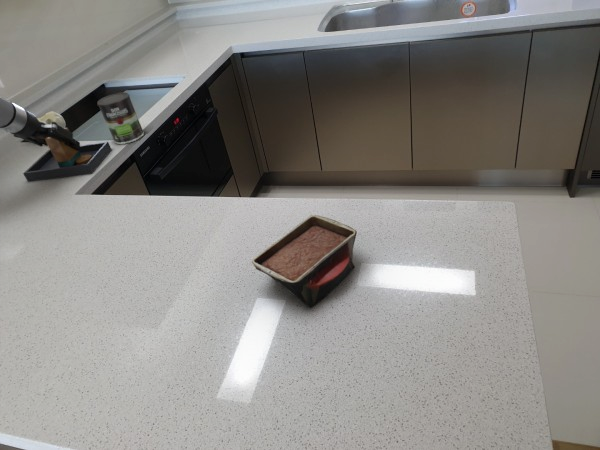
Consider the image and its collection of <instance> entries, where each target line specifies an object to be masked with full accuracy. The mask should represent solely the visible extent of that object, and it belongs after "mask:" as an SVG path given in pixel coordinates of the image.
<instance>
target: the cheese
mask: <svg viewBox="0 0 600 450" xmlns="http://www.w3.org/2000/svg"><path fill="white" fill-rule="evenodd" d="M36 118H37V117H36ZM37 119H38V120H39V121H40V122H44V123H45V124H50V125H51V124H52V122H56V123H57V124H58V125H59V126H61V127H63V128H66V126H67V125H66V121H65V119H64V117H63V116H62V115H61V114H60V113H58V112H55V111H51V110H50V111H48V112H46V113H45V114H44V115H43V116H41V117H38V118H37Z"/></svg>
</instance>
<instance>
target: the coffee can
mask: <svg viewBox="0 0 600 450" xmlns="http://www.w3.org/2000/svg"><path fill="white" fill-rule="evenodd" d="M96 103H97V106H98V107H99V110H100V112H101V114H102V116H103V119H104V121H105V123H106V126H107V128H108V130H109V132H110V135H111V137H112V139H113V142H114V143H115V144H117V145H127V144H130V143H134V142H136V141H138V140H140V139H142V137H144V134H145V132H144V130H143V127H142V125H141V122H140V119H139V117H138V115H137V111H136V110H135V108H134V104H133V102H132V100H131V97H130V94H129V93H128V92H115V93H112V94H108V95H106V96H103V97H102V98H100V99H99V100H98V101H97V102H96Z"/></svg>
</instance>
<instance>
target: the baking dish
mask: <svg viewBox="0 0 600 450" xmlns="http://www.w3.org/2000/svg"><path fill="white" fill-rule="evenodd" d="M356 237H357V230H356V229H355V228H353V227H351V226H349V225H348V224H344V223H341V222H339V220H334V219H331V218H329V217H326V216H323V215H317V214H314V215H313V214H311V215H309V216H308V217H307V218H305V219H304V220H303V221H302V222H300V223H298V224H297V225H295V227H293V228H292V229H290V230H289V232H287V233H286V234H284V235H283V236H282V237H281V238H279V239H278V240H277V241H275V242H273V244H271V245H270V246H268V247H266V249H264V250H263V251H262V252H260V253H259V254H258V255H256V256H255V257H254V258H253V259H252V261H251V263H252V265H253V267H255V269H256V270H257V271H260V272H261V273H264V274H266V275H267V276H269V277H270V278H272V279H273V280H274V281H276V282H277V283H278V284H279V285H281V286H282V287H283V288H285V290H287V291H288V292H289V293H290V294H292V295H293V296H294V297H295V298H296V299H298V300H299V301H300V302H302V303H303V304H304V305H305V306H307V307H308V308H309V309H312V308H313V307H316V305H318V304H319V303H320V302H321V301H322V300H323V299H325V298H326V297H327V296H328V295H329V294H330V293H331V292H332V291H333V290H334V289H336V288H337V286H338V285H340V284H341V283H342V282H343V281H344V280H345V279H346V278H347V276H348V275H350V274H351V272H353V270H354V269H355V267H356V266H355V264H354V262H353V258H354V257H353V256H354V247H355V246H354V245H355V242H356Z"/></svg>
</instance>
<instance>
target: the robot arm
mask: <svg viewBox="0 0 600 450" xmlns="http://www.w3.org/2000/svg"><path fill="white" fill-rule="evenodd" d="M0 130H2V131H4V132H6V133H10V134H11V135H13V137H14V138H17V139H21V140H23V141H25V142H28V143H31V144H34V145H36V146H39V147H43V145H44V146H46V147H49V146H48V145H47V143H46V141H45V138H48V137H50V138H53V139H56V140H58V141H61V142H64V144H65V145H67V146H69V147H71V148H73V149H75V150H77V151H78V150H80V145H81V142H80V141H78V140H77V139H75V138H74V133H73V132H71V131H70V130H69V129H68V130H69V131H68V130H66V129H64V128H63V127H61V126H59V125H58V124H57V123H56V122H52V124H51V125H50V124H45V123H44V122H40V121H39V120H38V119H37V116H36V115H35V114H34V113H32V112H30V111H29V110H27V109H25V108H23V107H22V106H19V105H18V104H16V103H14V102H11V101H9V100H7V99H6V98H3V97H2V96H0Z"/></svg>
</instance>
